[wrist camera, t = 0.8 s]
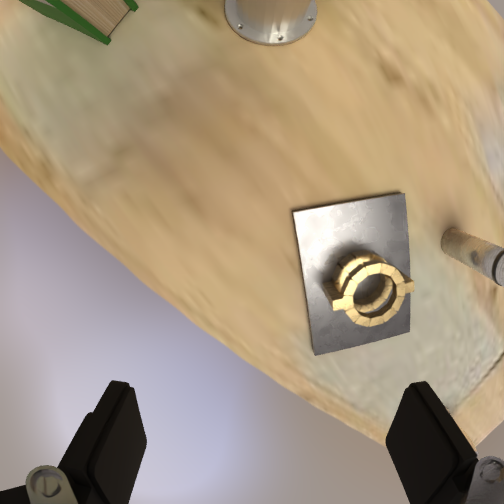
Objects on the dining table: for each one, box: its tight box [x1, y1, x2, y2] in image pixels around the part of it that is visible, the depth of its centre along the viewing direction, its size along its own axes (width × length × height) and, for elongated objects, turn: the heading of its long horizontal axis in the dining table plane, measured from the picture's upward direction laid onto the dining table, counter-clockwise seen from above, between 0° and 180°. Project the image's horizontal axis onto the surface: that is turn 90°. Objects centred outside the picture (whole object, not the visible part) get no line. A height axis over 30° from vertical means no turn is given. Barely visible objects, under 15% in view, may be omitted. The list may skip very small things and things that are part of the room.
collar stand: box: [292, 193, 414, 356], centre depth 41 cm, size 22×16×8 cm
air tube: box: [441, 228, 504, 287], centre depth 36 cm, size 5×5×16 cm
